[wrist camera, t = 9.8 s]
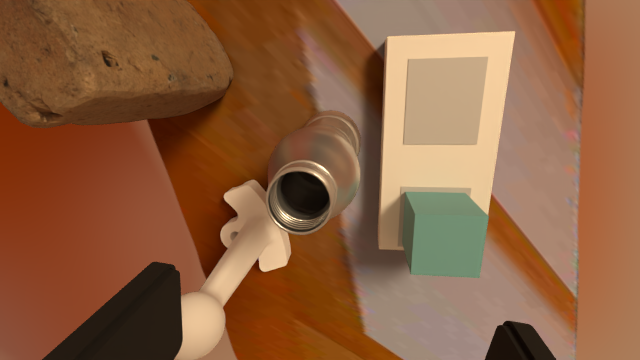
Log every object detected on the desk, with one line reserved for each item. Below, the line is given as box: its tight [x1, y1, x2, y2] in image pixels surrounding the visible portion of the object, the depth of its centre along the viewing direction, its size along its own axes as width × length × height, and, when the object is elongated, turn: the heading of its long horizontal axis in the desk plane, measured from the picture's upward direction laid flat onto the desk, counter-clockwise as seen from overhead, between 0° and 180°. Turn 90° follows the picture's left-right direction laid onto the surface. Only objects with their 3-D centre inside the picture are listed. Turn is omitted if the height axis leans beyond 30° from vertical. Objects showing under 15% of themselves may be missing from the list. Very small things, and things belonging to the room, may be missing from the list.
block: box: [0, 0, 233, 128], centre depth 24 cm, size 11×8×20 cm
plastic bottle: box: [265, 110, 361, 235], centre depth 25 cm, size 6×7×20 cm
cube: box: [402, 192, 489, 278], centre depth 30 cm, size 6×6×6 cm
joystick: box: [175, 180, 291, 360], centre depth 30 cm, size 11×8×20 cm
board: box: [378, 31, 515, 250], centre depth 32 cm, size 22×11×3 cm, turn 1°
